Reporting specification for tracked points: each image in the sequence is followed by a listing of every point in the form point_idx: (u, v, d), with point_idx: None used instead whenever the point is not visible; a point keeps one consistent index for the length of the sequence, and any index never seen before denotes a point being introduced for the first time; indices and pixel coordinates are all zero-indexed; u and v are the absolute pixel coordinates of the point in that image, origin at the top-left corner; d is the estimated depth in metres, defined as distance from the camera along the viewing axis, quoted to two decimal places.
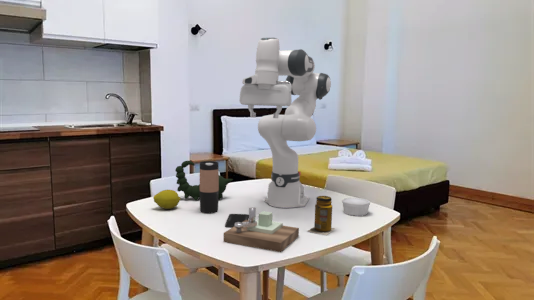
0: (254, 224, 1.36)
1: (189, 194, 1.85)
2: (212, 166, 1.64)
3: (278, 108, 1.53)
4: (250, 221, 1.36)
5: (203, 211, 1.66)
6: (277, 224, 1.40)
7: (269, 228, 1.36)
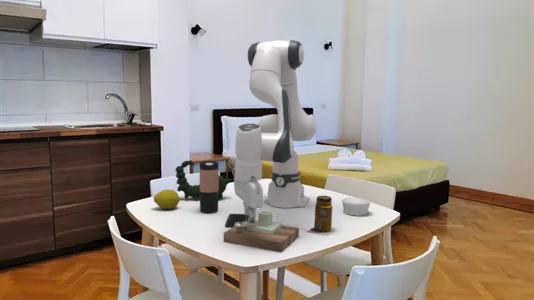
0: (254, 224, 1.36)
1: (189, 194, 1.85)
2: (212, 166, 1.64)
3: (246, 205, 1.36)
4: (250, 221, 1.36)
5: (203, 211, 1.66)
6: (277, 224, 1.40)
7: (269, 228, 1.36)
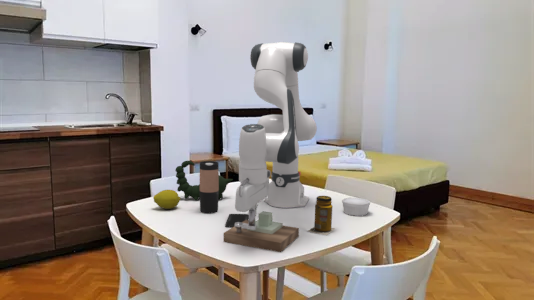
0: (252, 227, 1.33)
1: (189, 194, 1.85)
2: (212, 166, 1.64)
3: None
4: None
5: (203, 211, 1.66)
6: (277, 224, 1.40)
7: (269, 228, 1.36)
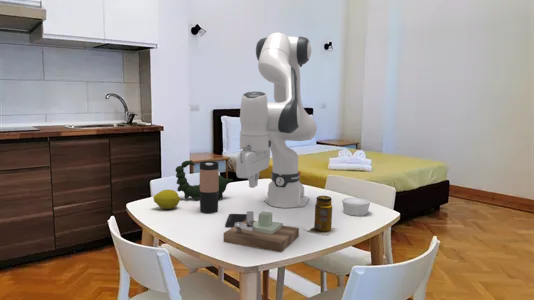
0: (249, 228, 1.32)
1: (189, 194, 1.85)
2: (212, 166, 1.64)
3: None
4: (246, 224, 1.32)
5: (203, 211, 1.66)
6: (277, 224, 1.40)
7: (269, 228, 1.36)
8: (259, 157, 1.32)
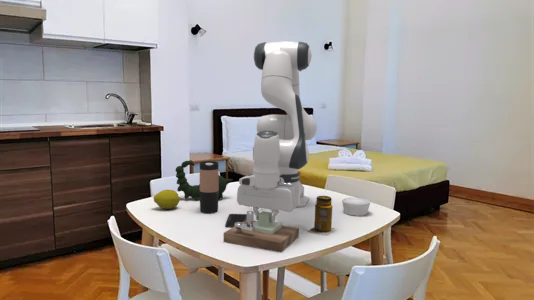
0: (249, 228, 1.32)
1: (189, 194, 1.85)
2: (212, 166, 1.64)
3: (274, 212, 1.37)
4: (246, 224, 1.32)
5: (203, 211, 1.66)
6: (277, 224, 1.40)
7: (269, 228, 1.36)
8: None
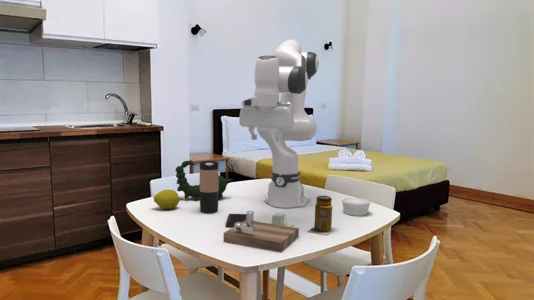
0: (249, 228, 1.32)
1: (189, 194, 1.85)
2: (212, 166, 1.64)
3: (280, 131, 1.46)
4: (246, 224, 1.32)
5: (203, 211, 1.66)
6: (289, 225, 1.51)
7: None
8: None
